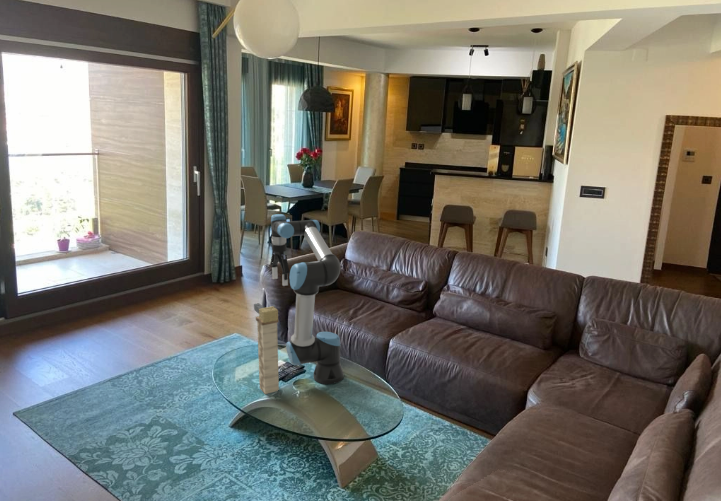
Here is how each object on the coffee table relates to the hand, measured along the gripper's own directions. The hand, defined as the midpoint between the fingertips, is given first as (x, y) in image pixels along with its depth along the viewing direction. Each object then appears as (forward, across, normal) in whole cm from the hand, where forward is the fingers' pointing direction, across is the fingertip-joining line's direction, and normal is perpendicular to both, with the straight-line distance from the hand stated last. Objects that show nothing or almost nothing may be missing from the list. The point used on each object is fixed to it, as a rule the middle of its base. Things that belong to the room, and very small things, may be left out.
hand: (280, 282), depth 294 cm
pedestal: (+41, +36, -22) cm, 58 cm away
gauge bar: (+4, +32, -22) cm, 39 cm away
